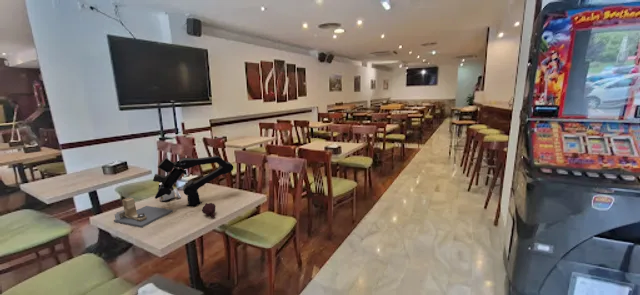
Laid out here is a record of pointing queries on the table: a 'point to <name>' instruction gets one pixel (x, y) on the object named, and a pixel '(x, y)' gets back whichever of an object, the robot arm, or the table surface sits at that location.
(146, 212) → the base board
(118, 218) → the keeper
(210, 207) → the icecream
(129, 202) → the link
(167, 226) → the table surface
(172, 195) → the spread jar
